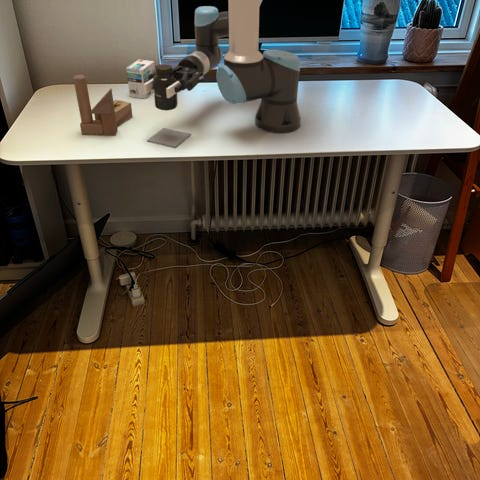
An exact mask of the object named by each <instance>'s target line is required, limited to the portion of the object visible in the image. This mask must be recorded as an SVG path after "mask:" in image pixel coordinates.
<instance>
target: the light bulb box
mask: <svg viewBox="0 0 480 480" xmlns="http://www.w3.org/2000/svg"><path fill="white" fill-rule="evenodd" d="M125 68H126V77H127V84H128V92H129V97H130V98H136V99H137V98H138V99H144V100H145V99H147V98H148V97H150V96H151V95H152V94H154V89H153V90H152V91H150V92H149V93H147V94H145V93H144V84H145V83H146V82H147V81H149V74H151V73H154V72H156V63H155V61H154V60H147V59H146V60H144V59H137V60H136V61H134V62H132V63H131V64H130V65H128V66H127V67H125Z"/></svg>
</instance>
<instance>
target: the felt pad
mask: <svg viewBox="0 0 480 480" xmlns="http://www.w3.org/2000/svg"><path fill="white" fill-rule="evenodd" d="M191 136H192V133H190V132H186V131H180V130H177V129H171V128H167V127H162V128H161V129H160V130H158V132H156V133H155V134H153V135H152V136H151V137H150V138H148V139H147V140H146V141H147V143H151V144H156V145H160V146H165V147H170V148H174V149H176V148H177V147H178V146H180V145H181V144H182V143H184V142H185V140H187V139H188V138H189V137H191Z"/></svg>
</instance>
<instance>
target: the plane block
mask: <svg viewBox="0 0 480 480" xmlns="http://www.w3.org/2000/svg"><path fill="white" fill-rule="evenodd" d="M113 102H114V109H115V110H114V111H115V116H116V123H117V128H118V127H120V126H121V125H123V124H124V123H126V122H127V121H128V120H130V119H132V118H133V116H134V115H133V109H132V102H129V101H124V100H118V99H115V100H113ZM94 120H100V121H101V122H102V118H101V114H94Z"/></svg>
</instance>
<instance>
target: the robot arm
mask: <svg viewBox="0 0 480 480" xmlns="http://www.w3.org/2000/svg"><path fill="white" fill-rule="evenodd" d="M227 1H228V11H221V12H219V9H218V8H217V7H216V6H211V5H208V6H207V5H206V6H205V5H204V6H198V7H197V8H195V10H194V37H195V38H194V39H195V51H193V52H192V53H190V54H189V55H187V56H186V57H184V58H182V59H181V60H180V61H179V62H178V64H177V66H174V67H172V71H173V74H172V75H174V76H175V77H176V81H177V82H175V83H174V84H172V85H171V86H169V87H168V88H166V93H167V98H170V97H172V96H173V95H174V94H176V93H177V94H178V93H180V92H181V91H185V90H186V91H187V92H189V91H192V90H193V89H195V88H196V86H197V85H198V84H200V83H202V82H204V75H206V74H207V73H208V72H210V71H211V70H213V69H215V68H217V70H216V72H215V73H216V75H215V76H216V78H215V79H216V83H217V87H218V90H219V91H220V93H221V96H222V97H223V99H224V100H225V101H226V102H228V103H229V104H231V105H237V104H245V103H248V102H252V101H257V100H260V102H259V104H258V108H257V110H256V112H255V116H254V124H255V126H256V127H257V128H258V129H259V130H262V131H264V132H268V133H274V134H275V133H276V134H282V133H283V134H286V133H290V132H294V131H297V130H298V129H299V128H300V126H301V117H302V116H301V114H300V110H299V104H298V95H299V93H298V91H299V81H300V71H301V61H300V60H301V59H300V57H299V56H298V55H297V54H294V53H292V52H290V51H285V50H281V49H266V50H264V51H263V52H262V53H261V52H260V51H259V39H260V38H259V36H260V33H259V31H260V29H259V28H260V7H261V4H262V2H263V0H227ZM225 37H228V51H227V52H226V53H225V54H224V51H223V50H222V47H221V45H219V38H225ZM222 60H223V64H221V62H222ZM220 64H221V65H220ZM219 65H220V66H219ZM217 66H218V67H217ZM155 75H157V74H156V71H155V72H154V73H151V74H149V81H147V82H146V83H145V84H144V93H145V94H147V93H149V92H150V91H152V90H153V89H154V86H153V78H154V76H155Z"/></svg>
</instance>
